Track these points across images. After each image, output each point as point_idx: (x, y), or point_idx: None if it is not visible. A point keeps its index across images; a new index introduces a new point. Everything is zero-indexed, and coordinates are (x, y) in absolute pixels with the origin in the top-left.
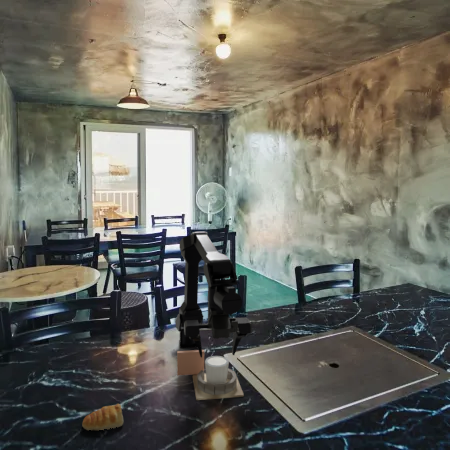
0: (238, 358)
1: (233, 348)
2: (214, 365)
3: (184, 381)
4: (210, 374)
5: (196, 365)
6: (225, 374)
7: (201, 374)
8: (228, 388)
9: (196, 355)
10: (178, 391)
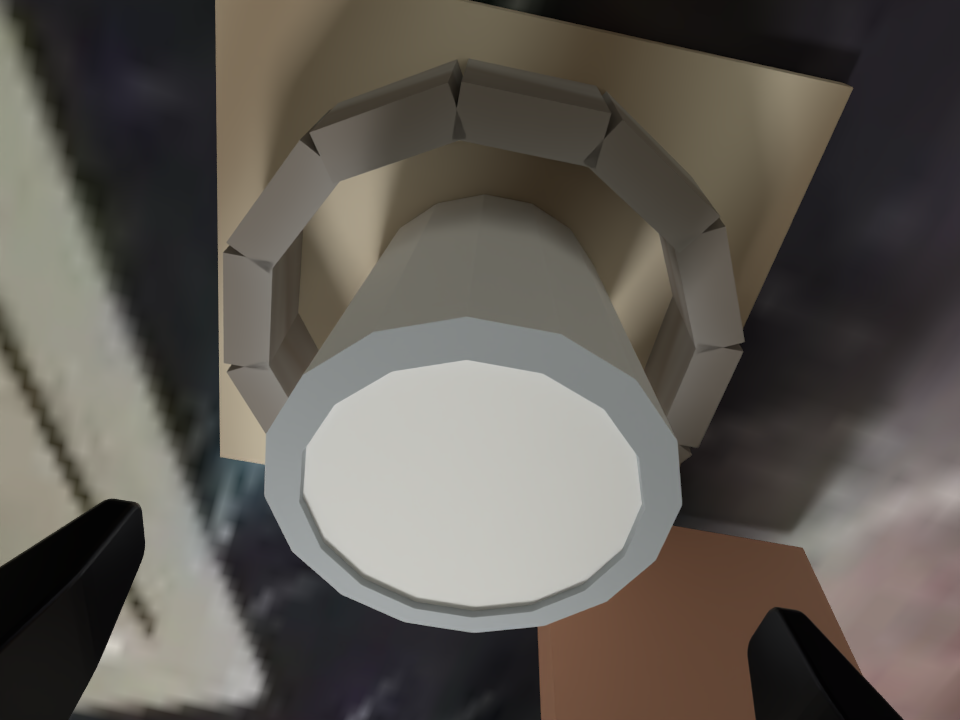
0: (140, 625)
1: (36, 630)
2: (577, 386)
3: (761, 464)
4: (617, 324)
5: (633, 592)
6: (384, 277)
7: None
8: (401, 87)
9: (656, 707)
10: (916, 327)
